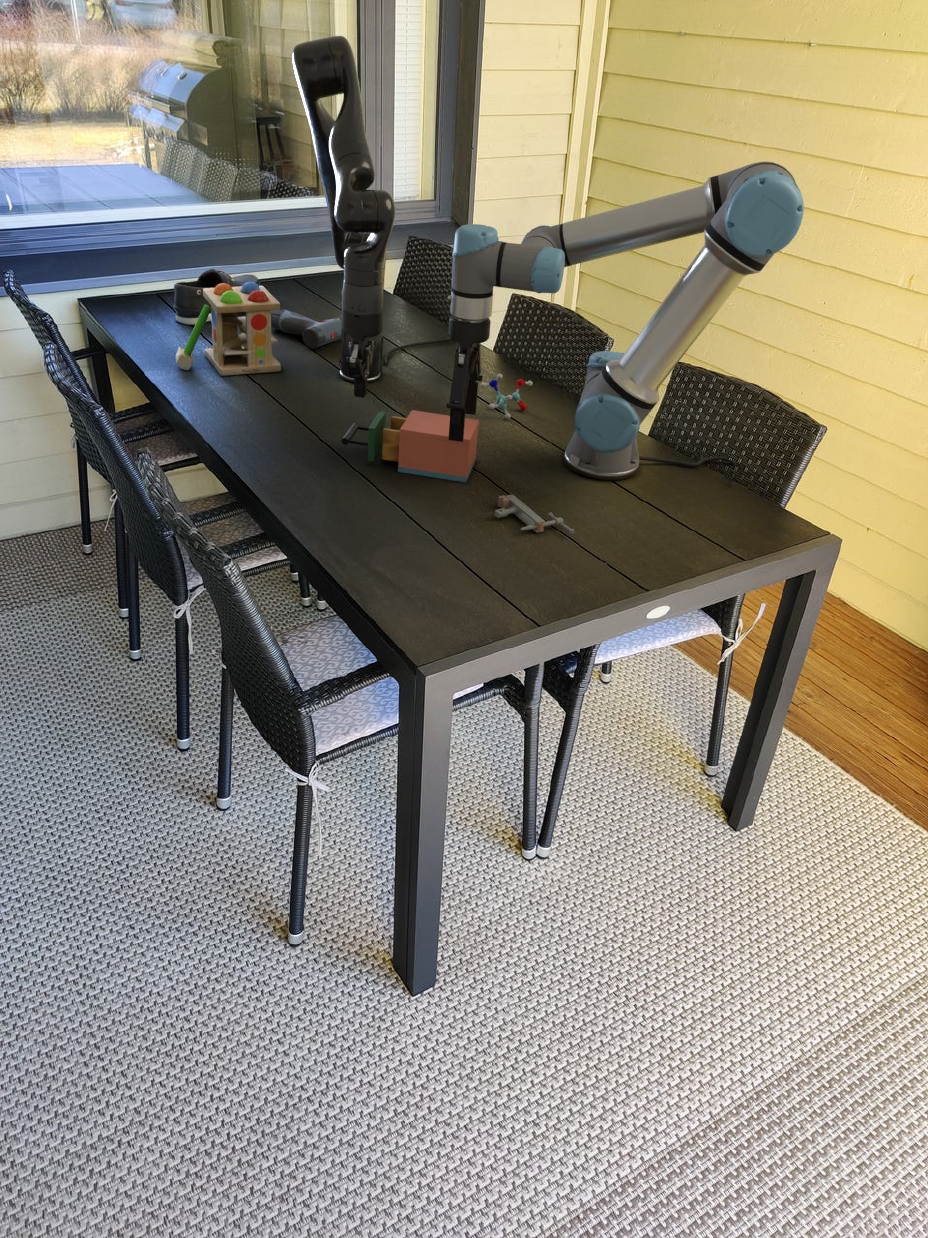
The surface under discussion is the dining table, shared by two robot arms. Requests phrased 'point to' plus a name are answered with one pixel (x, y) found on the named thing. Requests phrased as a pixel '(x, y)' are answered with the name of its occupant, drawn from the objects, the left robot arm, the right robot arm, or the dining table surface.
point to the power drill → (307, 327)
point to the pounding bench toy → (229, 347)
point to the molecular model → (501, 397)
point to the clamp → (526, 514)
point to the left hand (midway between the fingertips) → (360, 395)
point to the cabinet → (436, 447)
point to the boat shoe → (191, 293)
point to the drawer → (379, 437)
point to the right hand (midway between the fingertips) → (462, 426)
